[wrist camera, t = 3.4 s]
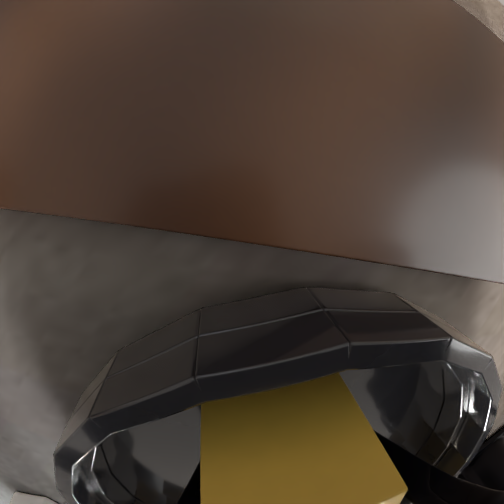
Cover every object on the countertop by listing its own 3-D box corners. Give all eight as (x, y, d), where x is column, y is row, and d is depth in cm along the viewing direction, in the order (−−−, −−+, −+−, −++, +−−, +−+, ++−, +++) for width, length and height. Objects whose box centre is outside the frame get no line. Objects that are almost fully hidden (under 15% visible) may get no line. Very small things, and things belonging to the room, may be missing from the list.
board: (503, 65, 6) (523, 62, 5) (486, 274, 8) (507, 284, 7) (14, -28, 3) (0, -40, 2) (-55, 194, 5) (-77, 199, 4)
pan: (477, 233, 8) (546, 256, 5) (415, 478, 12) (435, 510, 9) (10, 328, 7) (-43, 379, 4) (170, 533, 11) (169, 571, 8)
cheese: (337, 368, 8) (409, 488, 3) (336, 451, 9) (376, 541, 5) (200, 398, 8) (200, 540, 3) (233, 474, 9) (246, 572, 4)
